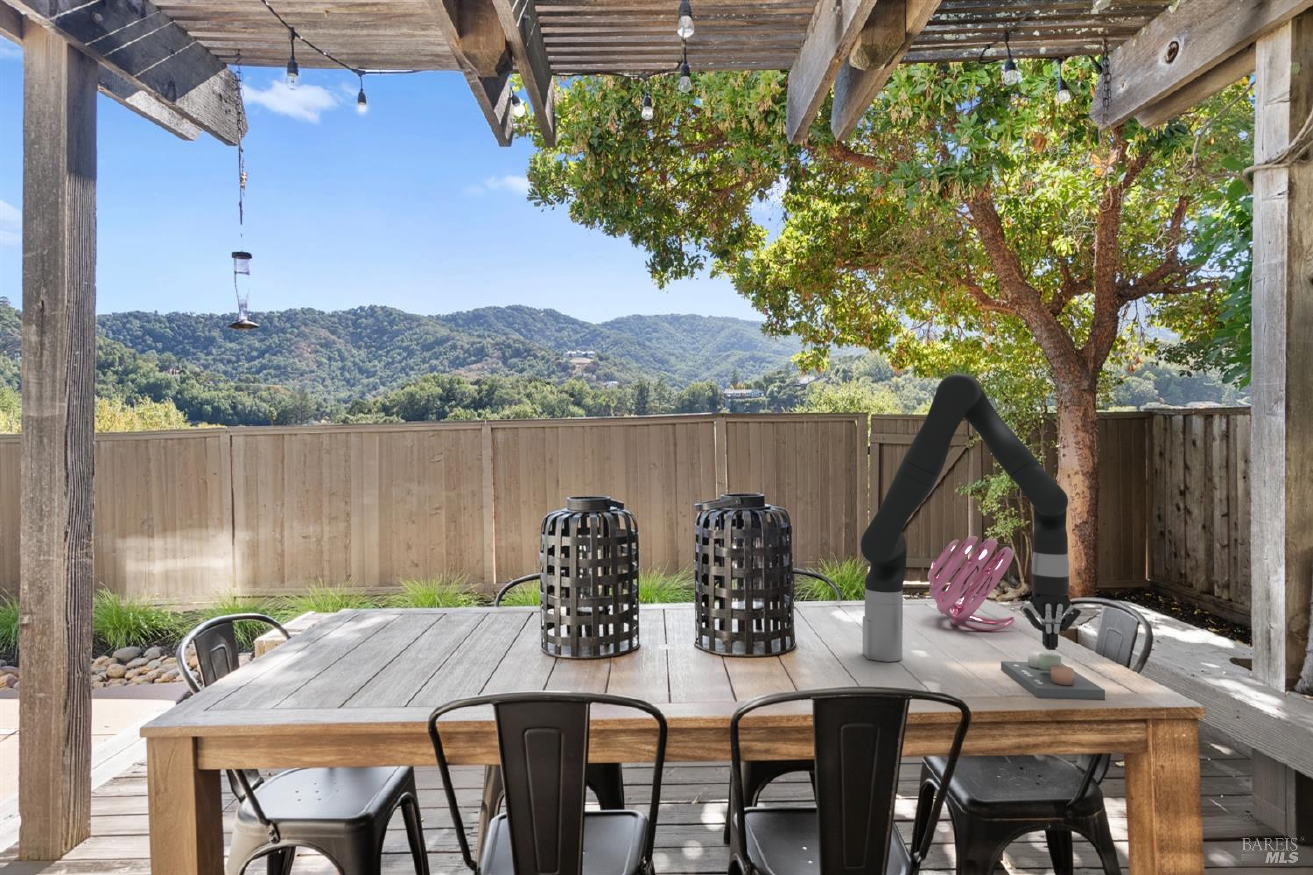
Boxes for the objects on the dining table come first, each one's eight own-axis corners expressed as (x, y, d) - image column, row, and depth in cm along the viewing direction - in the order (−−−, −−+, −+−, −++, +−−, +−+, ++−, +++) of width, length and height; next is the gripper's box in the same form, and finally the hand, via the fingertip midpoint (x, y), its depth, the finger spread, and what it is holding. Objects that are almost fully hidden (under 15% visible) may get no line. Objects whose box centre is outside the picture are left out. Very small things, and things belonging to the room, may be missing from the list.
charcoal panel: (1037, 697, 161) (1037, 687, 161) (1000, 669, 181) (1001, 660, 181) (1104, 699, 160) (1105, 689, 160) (1061, 671, 180) (1061, 661, 180)
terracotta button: (1056, 684, 163) (1056, 670, 163) (1047, 678, 167) (1047, 664, 167) (1077, 685, 163) (1077, 671, 163) (1067, 678, 167) (1067, 665, 167)
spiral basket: (1054, 561, 225) (972, 507, 234) (1045, 599, 202) (955, 537, 211) (997, 624, 238) (922, 571, 247) (983, 666, 215) (901, 606, 224)
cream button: (1032, 668, 175) (1032, 655, 175) (1024, 662, 179) (1024, 650, 179) (1052, 668, 175) (1052, 655, 175) (1043, 663, 179) (1043, 650, 179)
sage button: (1044, 671, 169) (1044, 658, 169) (1035, 665, 173) (1035, 652, 173) (1064, 672, 169) (1064, 658, 169) (1055, 666, 173) (1055, 653, 173)
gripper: (1027, 574, 168) (1027, 653, 168) (1088, 575, 167) (1088, 654, 167) (1013, 569, 175) (1013, 644, 175) (1072, 570, 174) (1072, 645, 174)
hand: (1050, 649), depth 171 cm, fingers closed
